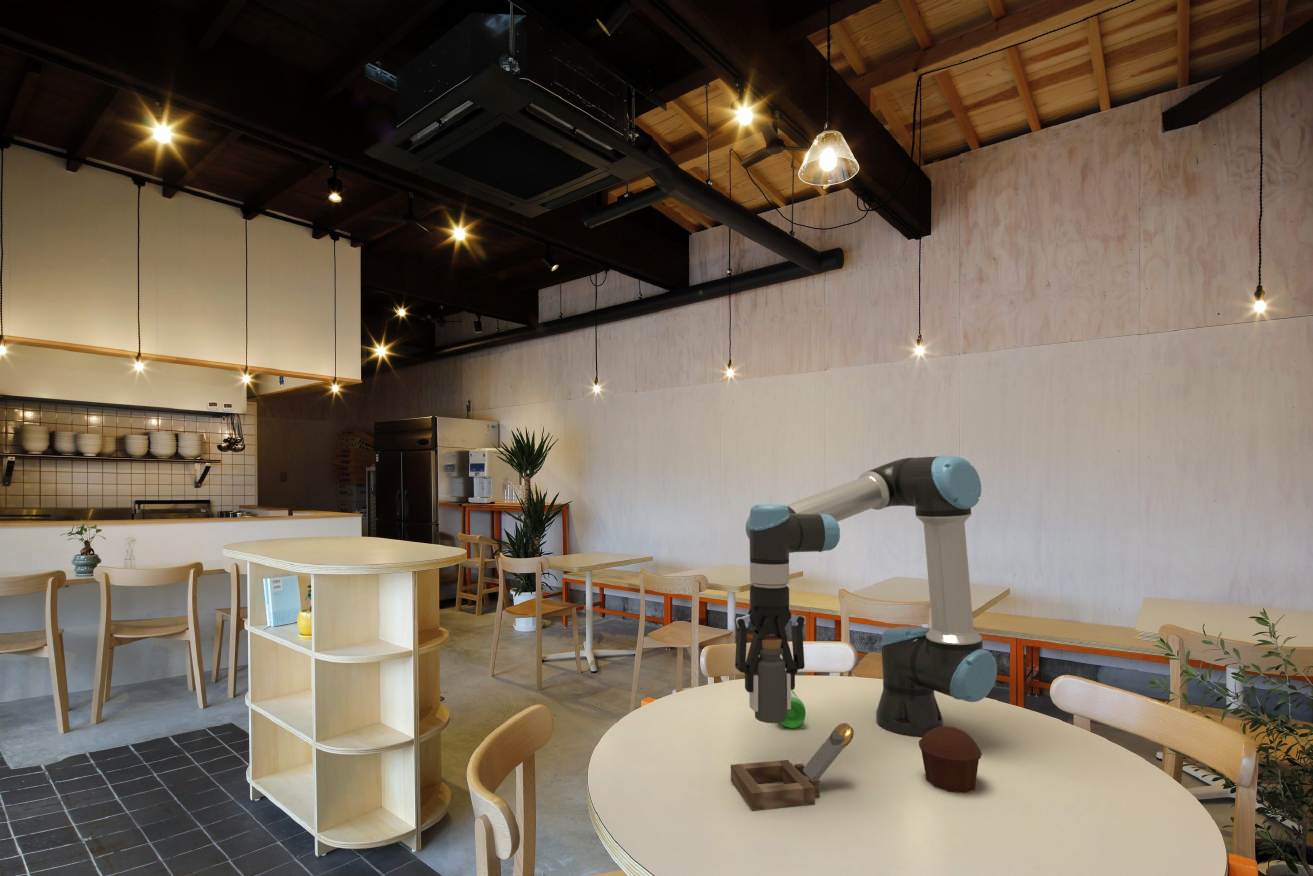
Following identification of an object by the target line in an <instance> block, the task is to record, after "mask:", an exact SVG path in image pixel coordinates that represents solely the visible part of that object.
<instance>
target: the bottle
mask: <svg viewBox="0 0 1313 876" xmlns="http://www.w3.org/2000/svg"><path fill="white" fill-rule="evenodd" d="M781 643H782V639H780V638H779V637H777V636H775V634H769V635H766V636H765V639H764V640H762V647H761V650H760V654H759V657H758V661H757V665H756V668H755V672H754V673H755V674H756V675H758V711H757V712H754V718H755V720H757V721H759V722H762V723H766V724H781V723H780V722H783V721H785V719H786V675H785V671H786V668H785V661H784V660H783V659H782V657H781V656H782V655H781V654H783V648H782V647H781Z"/></svg>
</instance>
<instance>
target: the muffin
mask: <svg viewBox="0 0 1313 876" xmlns="http://www.w3.org/2000/svg"><path fill="white" fill-rule="evenodd" d="M918 746H919V749H920V752H921V757H922V762H923V767H924V774H925V779H926V782H928V783H929V784H931V785H932V786H933V787H934V788H937V789H941V790H943V791H946V792H949V793H960V794H961V793H962V794H966V793H969V792H973V791H975V790H976V783H977V777H978V769H979V768H978V767H979V761H980V759H981V758H982V755H983V753H982V750H981V748H980V746H979V745H978V743H977V742H976V741H975V739H974V738H973V737H972V736H970V735H969V734H968V733H966V732H965V731H963V730H962V729H960V728H957V727H955V726H954V727H953V726H950V725H949V726H947V725H945V726H944V725H943V726H940V727H936V728H933V729H932V730H930V731H928V732H927V733H926V734H925V735H924V736H921V738H920V739H919V741H918Z"/></svg>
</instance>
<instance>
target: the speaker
mask: <svg viewBox="0 0 1313 876" xmlns="http://www.w3.org/2000/svg"><path fill="white" fill-rule="evenodd" d="M806 715H807V712H806V706H805V704H804V702H803V701H802V700H801V699H800V697H798V695H797V694H796V692H795V691H794V690H791V709H786V719H785V721H783V722H780V723H779V724H781V725H782V726H784V727H785V728H789V729H795V728H798V727H801V725H803V723H804V722H805V719H806Z"/></svg>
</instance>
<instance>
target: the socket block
mask: <svg viewBox="0 0 1313 876" xmlns="http://www.w3.org/2000/svg"><path fill="white" fill-rule="evenodd" d="M804 767H805V764H803V763H795V764H793V763H792V762H791V761H790V760H789V759H782V760H773V761H771V760H770V761H769V760H768V761H760V762H750V763H749V762H747V763H736V764H734V763H733V764H730V782H731V783H732V784H733V786H734V787H735V789H736V791H737V792H738V793H739V794H740V796H741V797H742V799H743V800H744V802H745V803H746V804H747V806H748V807H749V809H750V810H751V811H752V812H754V811H763V810H775V809H781V808H782V809H783V808H785V809H786V808H792V807H803V806H811V805H816V799H819V798H820V779H819V780H818V779H817V778H811V779H809V781H808V780H807V779H806V778H805V777H804V776H803V775H802V774H801V773H800V772H801V771H802V769H803V768H804ZM776 782H779V783H780V782H782V783H783V784H773V785H762V786H760V785H759V784H767V783H776Z"/></svg>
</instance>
